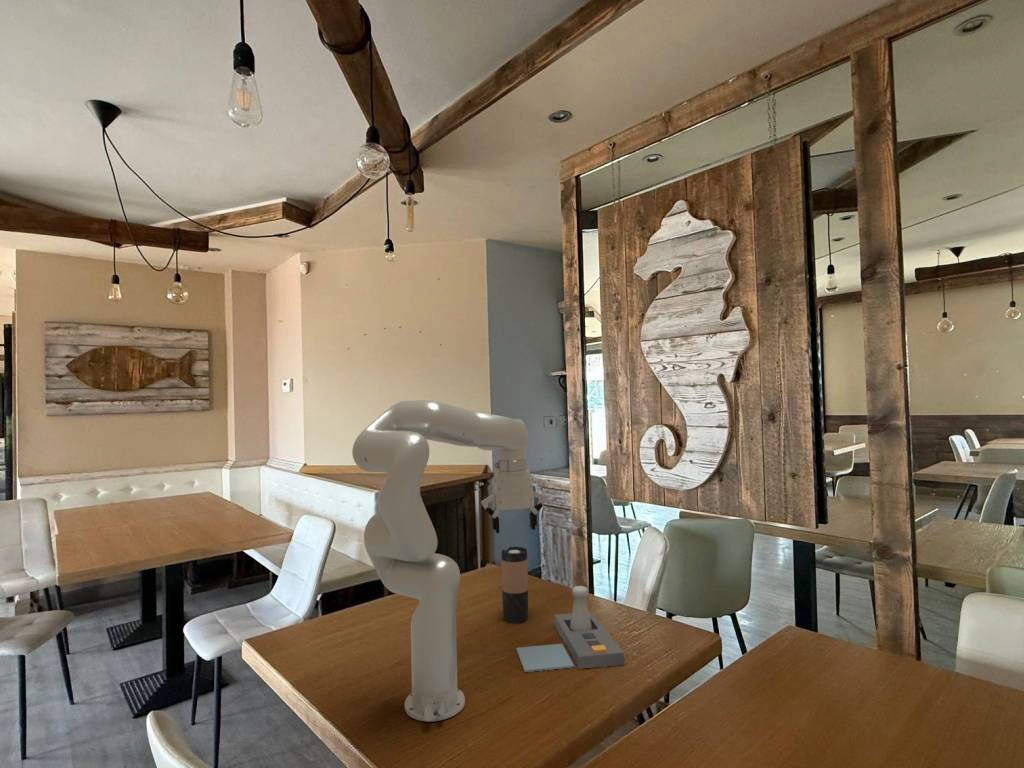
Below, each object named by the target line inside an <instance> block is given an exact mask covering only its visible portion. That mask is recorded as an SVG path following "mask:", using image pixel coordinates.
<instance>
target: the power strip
mask: <svg viewBox="0 0 1024 768" xmlns="http://www.w3.org/2000/svg"><path fill="white" fill-rule="evenodd" d="M589 616H590V621H591V625H592V628H591V630H583V631H571V629H570V624H571V617H572V613H571V612H570V613H560V614H554V615H553V617H554V619H553V621H554V623H553V624H554V627H555V629H556V631H557V633H558V635H559V637H560V638H561V640H562V639H563V640H562V642H563V643H564V645H565V646H567V647H566V648H567V651H568V652H569V651H570V652H569V654H570V653H571V654H570V655H572V656H571V657H572V659H573V658H574V659H573V661H574V660H575V661H574V663H575V662H576V663H575V664H576V666H577V665H578V666H577V667H579V668H578V669H581V670H583V669H582V668H591V669H593V668H592V667H601V668H606V667H605V666H612V667H618V666H617V665H622V666H624V665H625V659H624V658H625V653H624V651H623V650H622V649H621V647H620V646H619V645H618V643H617V642H616V641H615V640H614V638H613V637H612V635H611V634H610V633H609V632H608V630H607V629H606V628H605V627H604V625H603V624H602V622H600V620H599V619H598V618H597V616H596V615H595V614H594V613H593V611H589ZM603 666H604V667H603Z"/></svg>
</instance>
